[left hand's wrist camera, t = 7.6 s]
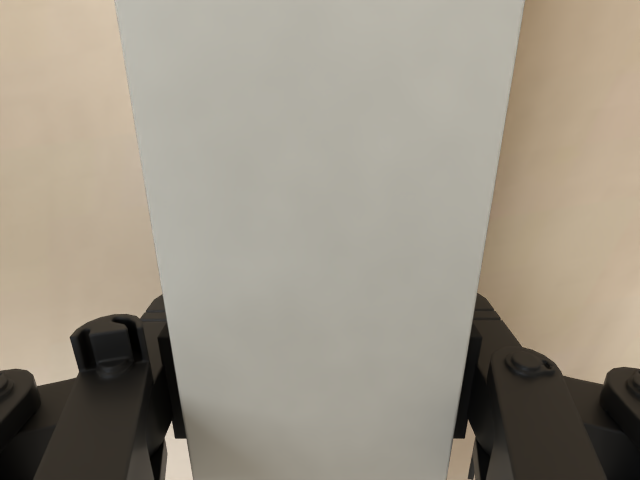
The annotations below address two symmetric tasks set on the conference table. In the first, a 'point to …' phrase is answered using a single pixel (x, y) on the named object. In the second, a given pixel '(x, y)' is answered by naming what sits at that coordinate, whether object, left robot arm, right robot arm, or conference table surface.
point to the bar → (319, 220)
